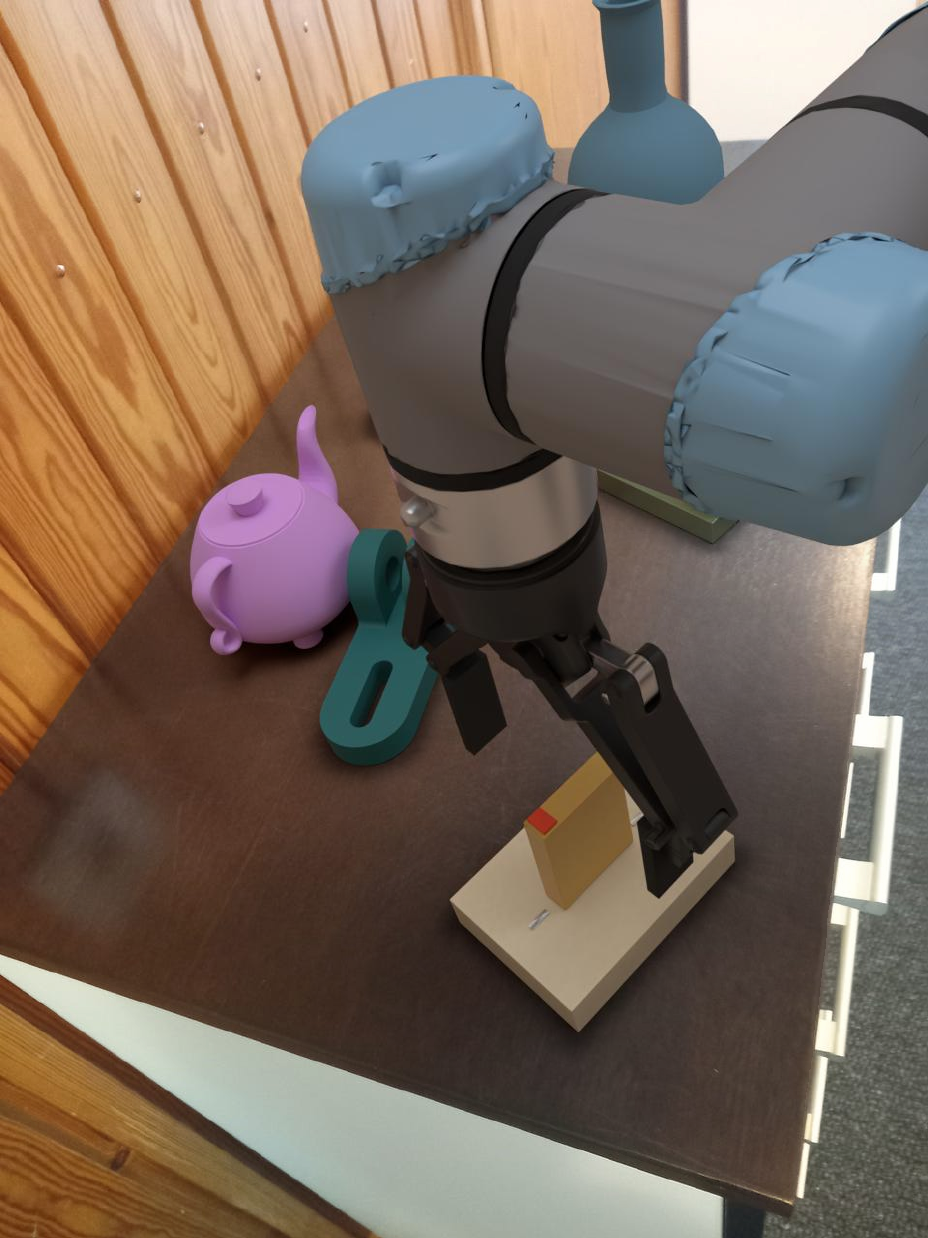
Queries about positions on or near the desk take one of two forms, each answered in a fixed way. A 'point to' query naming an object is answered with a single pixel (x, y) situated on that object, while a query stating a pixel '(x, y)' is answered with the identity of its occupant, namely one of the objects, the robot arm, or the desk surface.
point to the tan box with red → (579, 831)
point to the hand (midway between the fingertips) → (572, 802)
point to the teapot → (274, 554)
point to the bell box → (665, 507)
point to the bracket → (377, 658)
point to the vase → (644, 119)
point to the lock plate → (580, 920)
